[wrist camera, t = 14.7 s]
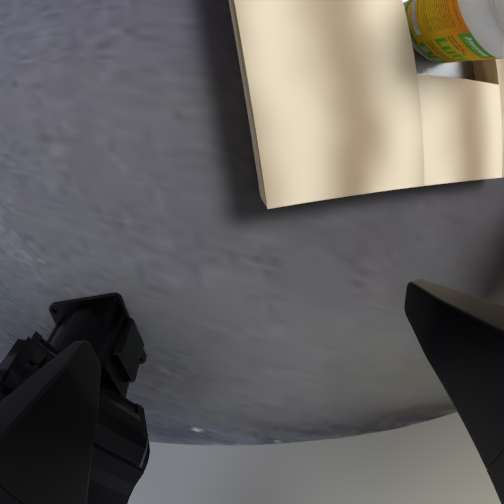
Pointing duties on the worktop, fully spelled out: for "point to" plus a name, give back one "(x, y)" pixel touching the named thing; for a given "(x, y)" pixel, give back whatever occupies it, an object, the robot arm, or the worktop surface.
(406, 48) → the socket board
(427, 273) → the worktop surface
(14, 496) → the robot arm
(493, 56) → the supplement bottle
